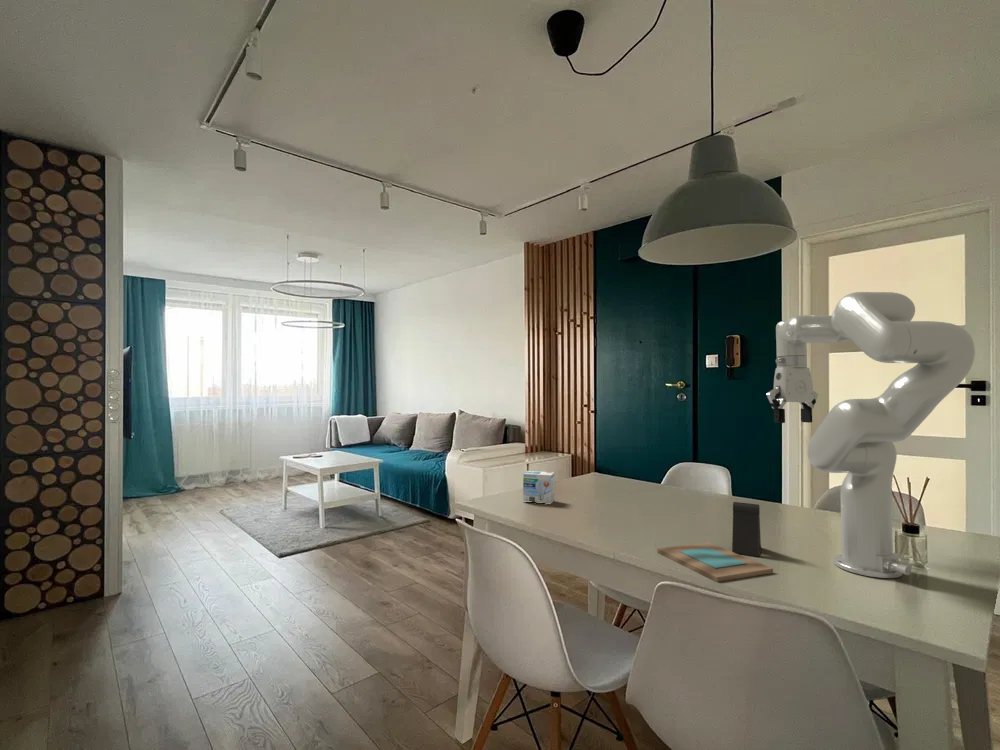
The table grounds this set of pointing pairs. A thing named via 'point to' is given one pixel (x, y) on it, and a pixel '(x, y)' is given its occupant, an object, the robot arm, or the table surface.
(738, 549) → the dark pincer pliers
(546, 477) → the light bulb box
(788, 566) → the table surface
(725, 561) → the wooden board
